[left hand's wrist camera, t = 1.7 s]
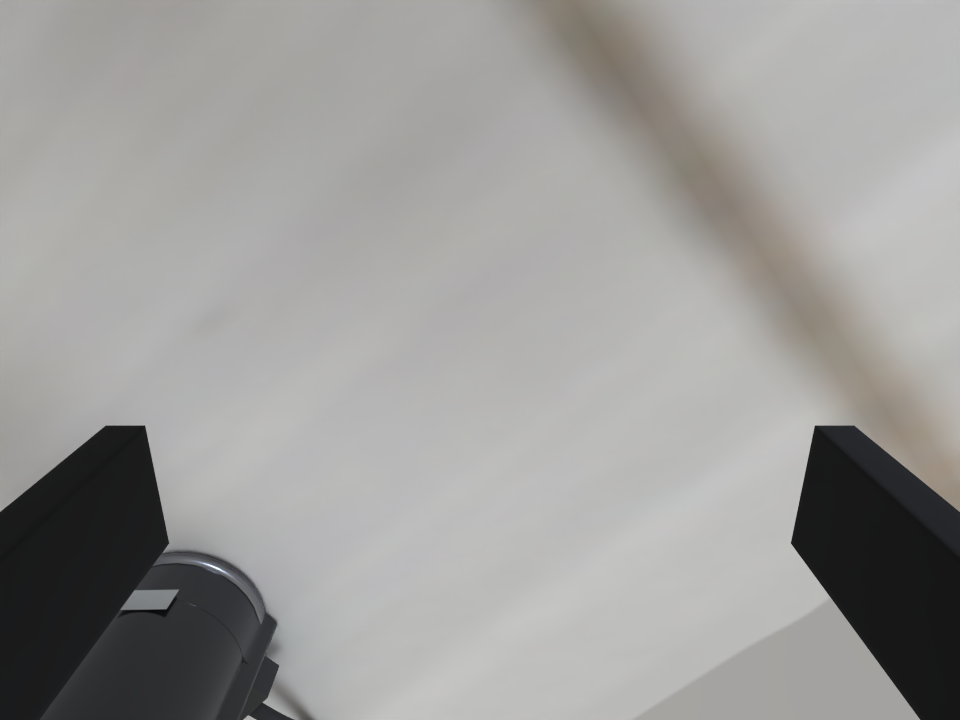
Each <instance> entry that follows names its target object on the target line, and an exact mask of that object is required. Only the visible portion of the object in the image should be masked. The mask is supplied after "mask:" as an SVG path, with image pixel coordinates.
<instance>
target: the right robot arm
mask: <svg viewBox="0 0 960 720" xmlns="http://www.w3.org/2000/svg"><path fill="white" fill-rule="evenodd" d="M276 627H277V623H276V622H275V621H274V620H272V619H271V618H269V617H268V616H267V615H266V614H265V609H264V605H263V602H262V600H261V598H260V596H259V594H258V592H257V591H256V589H255V588H254V586H253V585H252V584H251V583H250V582H249V581H248V579H246V578H245V577H244V576H243V575H242V574H241V573H240V572H238V571H237V570H236V569H234V568H232V567H231V566H229V565H227V564H225V563H224V562H221V561H219V560H217V559H214V558H211V557H208V556H204V555H200V554H194V553H169V554H163V555H160V556H159V558H158V559H157V560H156V562H155V563H154V564H153V566H152V567H151V569H150V570H149V571H148V573H147V574H146V575H145V577H144V578H143V579H142V581H141V582H140V584H139V585H138V586H137V588H136V589H135V590H134V592H133V593H132V594H131V596H130V597H129V599H128V600H127V601H126V603H125V604H124V605H123V607H122V608H121V609H120V611H119V612H118V614H117V615H116V616H115V618H114V619H113V620H112V622H111V623H110V624H109V626H108V627H107V628H106V630H105V631H104V633H103V634H102V635H101V637H100V638H99V639H98V641H97V642H96V643H95V645H94V646H93V648H92V649H91V650H90V652H89V653H88V654H87V656H86V657H85V658H84V660H83V661H82V663H81V664H80V665H79V667H78V668H77V669H76V671H75V672H74V673H73V675H72V676H71V678H70V679H69V680H68V682H67V683H66V684H65V686H64V687H63V688H62V690H61V691H60V693H59V694H58V695H57V697H56V698H55V699H54V701H53V702H52V703H51V705H50V706H49V708H48V709H47V710H46V712H45V713H44V714H43V716H42V717H41V718H40V720H243V719H244V718H245V717H246V716H248V715H249V716H251V717H253V718H255V719H256V720H294V719H291V718H289V717H287V716H285V715H283V714H281V713H279V712H277V711H276V710H274V709H272V708H270V707H269V706H267V705H265V704H264V703H262V702H263V701H264V700H266V699H267V698H268V695H269V692H270V689H271V687H272V684H273V681H274V679H275V676H276V673H277V670H278V668H279V665H278V664H276V663H275V662H273V661H272V660H270V659H269V658H267V657H266V656H265V654H266V652H267V649H268V647H269V644H270V642H271V639H272V637H273V634H274V632H275V629H276Z"/></svg>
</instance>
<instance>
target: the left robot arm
mask: <svg viewBox="0 0 960 720" xmlns="http://www.w3.org/2000/svg"><path fill="white" fill-rule="evenodd" d="M168 544H169V541H168V536H167V531H166V526H165V521H164V516H163V511H162V507H161V502H160V497H159V492H158V487H157V482H156V477H155V472H154V467H153V462H152V458H151V453H150V448H149V443H148V438H147V433H146V428H145V426H105V427H104V428H102V429H101V430H100V431H99V432H98V433H96V434H95V435H94V436H93V437H91V438H90V439H89V440H88V441H87V442H85V443H84V444H83V445H82V446H80V447H79V448H78V449H77V450H76V451H74V452H73V453H72V454H71V455H69V456H68V457H67V458H66V459H65V460H63V461H62V462H61V463H60V464H59V465H57V466H56V467H55V468H54V469H52V470H51V471H50V472H49V473H48V474H46V475H45V476H44V477H43V478H41V479H40V480H39V481H38V482H37V483H35V484H34V485H33V486H32V487H30V488H29V489H28V490H27V491H26V492H24V493H23V494H22V495H21V496H19V497H18V498H17V499H16V500H15V501H13V502H12V503H11V504H10V505H8V506H7V507H6V508H5V509H4V510H2V511H1V512H0V720H40V718H41V717H42V716H43V714H44V713H45V712H46V710H47V709H48V708H49V706H50V705H51V703H52V702H53V701H54V699H55V698H56V697H57V695H58V694H59V693H60V691H61V690H62V688H63V687H64V686H65V684H66V683H67V682H68V680H69V679H70V678H71V676H72V675H73V673H74V672H75V671H76V669H77V668H78V667H79V665H80V664H81V663H82V661H83V660H84V658H85V657H86V656H87V654H88V653H89V652H90V650H91V649H92V648H93V646H94V645H95V643H96V642H97V641H98V639H99V638H100V637H101V635H102V634H103V633H104V631H105V630H106V628H107V627H108V626H109V624H110V623H111V622H112V620H113V619H114V618H115V616H116V615H117V614H118V612H119V611H120V609H121V608H122V607H123V605H124V604H125V603H126V601H127V600H128V599H129V597H130V596H131V594H132V593H133V592H134V590H135V589H136V588H137V586H138V585H139V584H140V582H141V581H142V579H143V578H144V577H145V575H146V574H147V573H148V571H149V570H150V569H151V567H152V566H153V564H154V563H155V562H156V560H157V559H158V558H159V556H160V555H161V554H162V552H163V551H164V549H165V548H166V547H167V545H168ZM791 544H792V545H793V547H794V548H795V549H796V551H797V552H798V554H799V555H800V556H801V558H802V559H803V560H804V562H805V563H806V564H807V566H808V567H809V569H810V570H811V571H812V573H813V574H814V575H815V577H816V578H817V579H818V581H819V582H820V584H821V585H822V586H823V588H824V589H825V590H826V592H827V593H828V594H829V596H830V597H831V599H832V600H833V601H834V602H835V604H836V605H837V607H838V608H839V609H840V611H841V612H842V614H843V615H844V616H845V618H846V619H847V620H848V622H849V623H850V624H851V626H852V627H853V628H854V630H855V631H856V633H857V634H858V635H859V637H860V638H861V639H862V641H863V642H864V643H865V645H866V646H867V648H868V649H869V650H870V652H871V653H872V654H873V656H874V657H875V658H876V660H877V661H878V663H879V664H880V665H881V667H882V668H883V669H884V671H885V672H886V673H887V675H888V676H889V678H890V679H891V680H892V682H893V683H894V684H895V686H896V687H897V688H898V690H899V691H900V692H901V694H902V695H903V697H904V698H905V699H906V701H907V702H908V703H909V705H910V706H911V707H912V709H913V710H914V711H915V713H916V714H917V716H918V717H919V718H920V720H960V512H959V511H958V510H956V509H955V508H954V507H953V506H952V505H950V504H949V503H948V502H947V501H945V500H944V499H943V498H942V497H941V496H939V495H938V494H937V493H936V492H934V491H933V490H932V489H931V488H930V487H928V486H927V485H926V484H925V483H923V482H922V481H921V480H920V479H919V478H917V477H916V476H915V475H914V474H912V473H911V472H910V471H909V470H908V469H906V468H905V467H904V466H903V465H901V464H900V463H899V462H898V461H897V460H895V459H894V458H893V457H892V456H890V455H889V454H888V453H887V452H886V451H884V450H883V449H882V448H881V447H880V446H878V445H877V444H876V443H875V442H873V441H872V440H871V439H870V438H869V437H867V436H866V435H865V434H864V433H862V432H861V431H860V430H859V429H858V428H856V427H855V426H815V428H814V433H813V438H812V443H811V448H810V453H809V458H808V462H807V467H806V472H805V477H804V482H803V487H802V492H801V497H800V502H799V507H798V511H797V516H796V521H795V526H794V531H793V536H792V541H791Z"/></svg>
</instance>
